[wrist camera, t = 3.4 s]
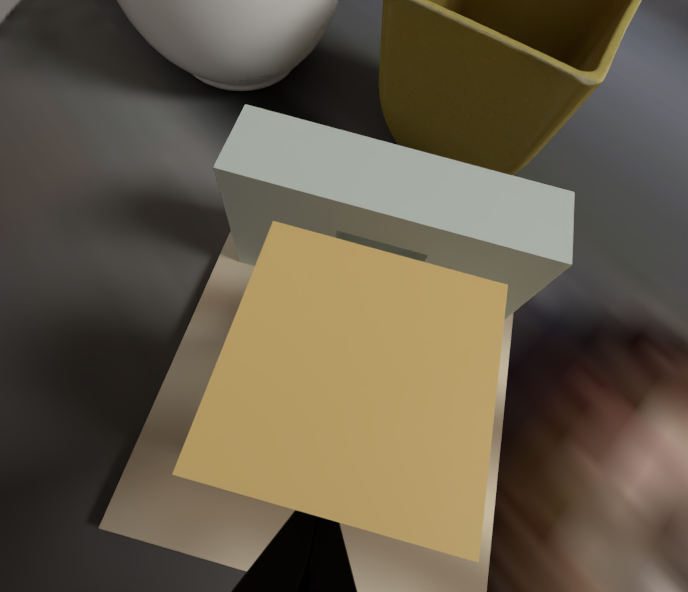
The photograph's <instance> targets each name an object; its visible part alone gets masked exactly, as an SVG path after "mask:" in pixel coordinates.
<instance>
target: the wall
mask: <svg viewBox="0 0 688 592" xmlns="http://www.w3.org/2000/svg"><path fill="white" fill-rule="evenodd" d="M213 169H214V172H215V176H216V179H217V183H218V186H219V190H220V194H221V197H222V201H223V204H224V208H225V211H226V215H227V219H228V222H229V226H230V229H231V233H232V236H233V240H234V244H235V247H236V251H237V254H238V258H239V261H240V262H241V263H245V264H248V265H252V266H255V265H256V262H257V260H258V257H259V255H260V252H261V250H262V247H263V245H264V242H265V240H266V237H267V235H268V232H269V230H270V227H271V225H272V222H273V221H276V222H280V223H283V224H287V225H291V226H294V227H298V228H302V229H305V230H309V231H313V232H316V233H320V234H324V235H327V236H331V237H335V238H338V239H342V240H346V241H349V242H353V243H357V244H360V245H364V246H368V247H371V248H375V249H379V250H382V251H386V252H390V253H393V254H397V255H401V256H404V257H408V258H412V259H415V260H419V261H423V262H426V263H430V264H433V265H437V266H441V267H444V268H448V269H452V270H455V271H459V272H463V273H466V274H470V275H474V276H477V277H481V278H485V279H488V280H492V281H496V282H499V283H503V284H507V285H508V290H507V300H506V309H505V319H506V318H507V317H508V316H509V315H510V314H512V313H513V312H514V311H515V310H517V309H518V308H519V307H520V306H522V305H523V304H524V303H525V302H527V301H528V300H529V299H530V298H532V297H533V296H534V295H535V294H537V293H538V292H539V291H540V290H542V289H543V288H544V287H545V286H546V285H548V284H549V283H550V282H551V281H553V280H554V279H555V278H556V277H558V276H559V275H560V274H561V273H563V272H564V271H565V270H566V269H568V268H569V267H570V266H571V265H572V253H573V224H574V195H575V192H572V191H568V190H565V189H561V188H557V187H553V186H550V185H546V184H542V183H538V182H535V181H531V180H527V179H523V178H520V177H516V176H512V175H508V174H505V173H501V172H497V171H494V170H490V169H486V168H482V167H479V166H475V165H471V164H467V163H464V162H460V161H456V160H452V159H449V158H445V157H441V156H437V155H434V154H430V153H426V152H423V151H419V150H415V149H411V148H408V147H404V146H400V145H396V144H393V143H389V142H385V141H381V140H378V139H374V138H370V137H366V136H363V135H359V134H355V133H352V132H348V131H344V130H340V129H337V128H333V127H329V126H325V125H322V124H318V123H314V122H310V121H307V120H303V119H299V118H295V117H292V116H288V115H284V114H281V113H277V112H273V111H269V110H266V109H262V108H258V107H254V106H251V105H247V104H245V105H244V107H243V109H242V111H241V113H240V115H239V117H238V119H237V121H236V123H235V125H234V127H233V129H232V131H231V133H230V135H229V137H228V139H227V141H226V143H225V145H224V147H223V149H222V151H221V153H220V155H219V157H218V159H217V161H216V163H215V165H214V167H213Z"/></svg>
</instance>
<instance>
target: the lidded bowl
mask: <svg viewBox="0 0 688 592" xmlns="http://www.w3.org/2000/svg"><path fill="white" fill-rule="evenodd" d="M116 1H117V2H118V4H119V5H120V7H121V8H122V10H123V11H124V13H125V15H126V16H127V18H128V19H129V21H130V22H131V23H132V24H133V26H134V27H135V28H136V29H137V30H138V31H139V33H140V34H141V35H142V36H143V37H144V38H145V40H146V41H147V42H148V43H149V44H150V45H151V46H152V47H153V48H154V49H156V50H157V51H158V52H159V53H160V54H161V55H163V56H164V57H165V58H166V59H167V60H169V61H170V62H172V63H173V64H175V65H177V66H178V67H180V68H182V69H184V70H185V71H187V72H189V73H191V74H192V75H193V76H194V77H196V78H197V79H198V80H200V81H202V82H204V83H205V84H208V85H210V86H213V87H216V88H219V89H224V90H230V91H252V90H258V89H262V88H265V87H269V86H271V85H273V84H275V83H277V82H279V81H281V80H282V79H284V78H285V77H286V76H287V75H288V74H289V73H290V72H291V71H292V70H293V68H294V67H296V66H297V65H298V64H299V63H301V62H302V61H303V60H304V59H305V58H306V57H307V56H308V55H310V53H311V52H312V51H313V49H314V48H315V47H316V46H317V44H318V43H319V42H320V40H321V39H322V38H323V36H324V34H325V32H326V30H327V28H328V26H329V24H330V22H331V19H332V17H333V15H334V13H335V10H336V6H337V3H338V0H116Z"/></svg>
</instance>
